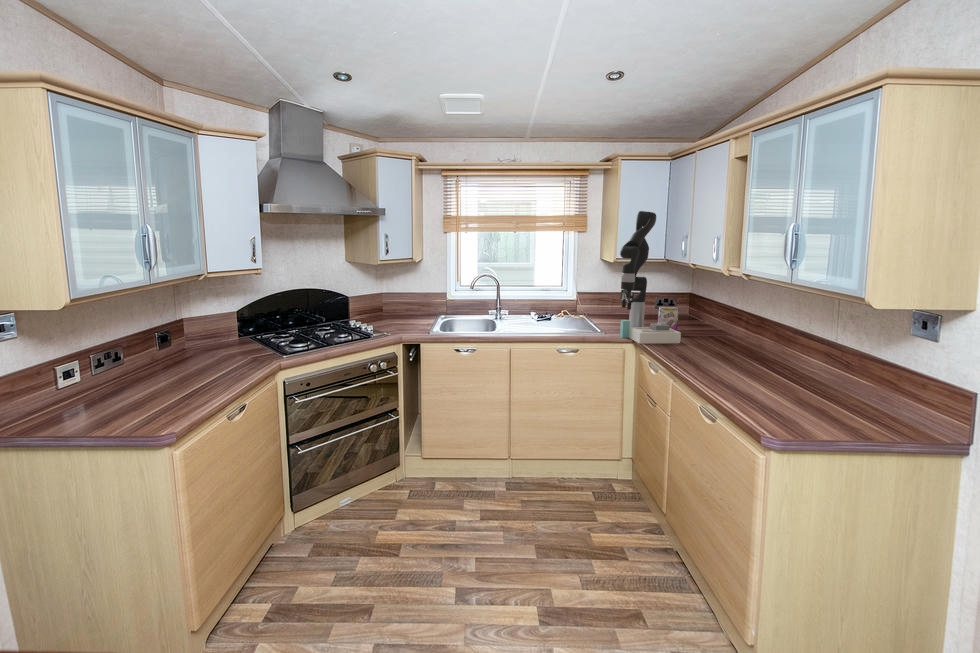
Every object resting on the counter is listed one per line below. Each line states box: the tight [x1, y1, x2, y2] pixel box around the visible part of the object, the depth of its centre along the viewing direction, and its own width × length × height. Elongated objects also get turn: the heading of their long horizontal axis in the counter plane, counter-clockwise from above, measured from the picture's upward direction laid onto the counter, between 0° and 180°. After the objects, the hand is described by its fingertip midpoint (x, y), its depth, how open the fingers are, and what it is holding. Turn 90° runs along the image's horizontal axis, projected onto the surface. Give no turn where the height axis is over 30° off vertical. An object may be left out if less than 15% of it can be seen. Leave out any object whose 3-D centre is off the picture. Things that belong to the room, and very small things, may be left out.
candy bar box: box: [657, 306, 680, 331], centre depth 320 cm, size 11×5×16 cm, turn 84°
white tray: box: [628, 326, 682, 345], centre depth 299 cm, size 16×24×7 cm, turn 96°
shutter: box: [649, 321, 670, 330], centre depth 299 cm, size 8×8×4 cm
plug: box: [619, 319, 630, 339], centre depth 307 cm, size 4×4×10 cm
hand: (626, 308), depth 305 cm, fingers open, 8 cm apart
